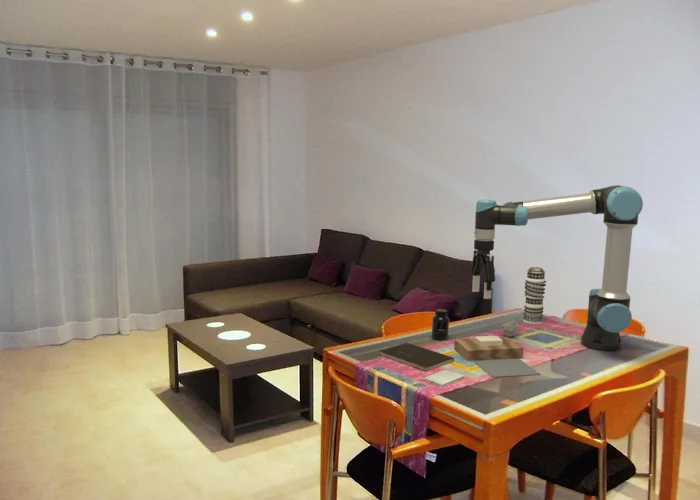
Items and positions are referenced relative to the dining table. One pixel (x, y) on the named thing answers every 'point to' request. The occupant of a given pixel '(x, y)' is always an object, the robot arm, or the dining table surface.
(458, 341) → the brown wooden block
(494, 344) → the cream rectangular block
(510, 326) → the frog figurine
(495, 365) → the mat
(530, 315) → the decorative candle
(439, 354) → the hardcover book
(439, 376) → the hard drive
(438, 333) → the supplement bottle
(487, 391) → the dining table surface
